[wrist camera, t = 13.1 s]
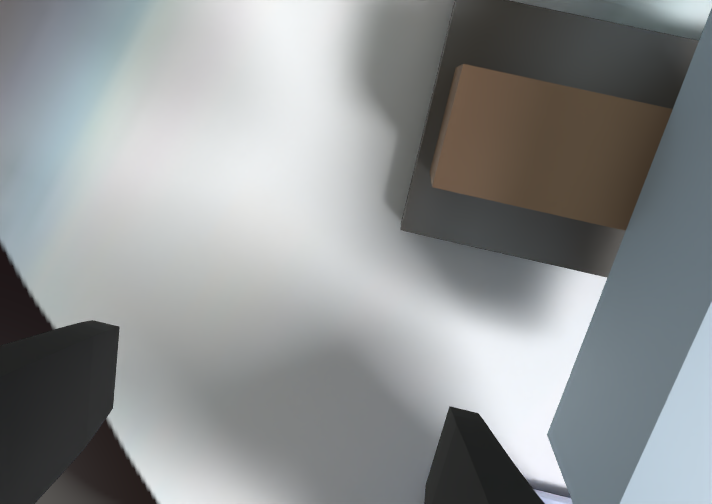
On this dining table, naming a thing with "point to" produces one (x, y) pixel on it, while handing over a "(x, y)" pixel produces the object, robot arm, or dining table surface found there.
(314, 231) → the dining table surface
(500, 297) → the dining table surface
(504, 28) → the stand
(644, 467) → the beam
